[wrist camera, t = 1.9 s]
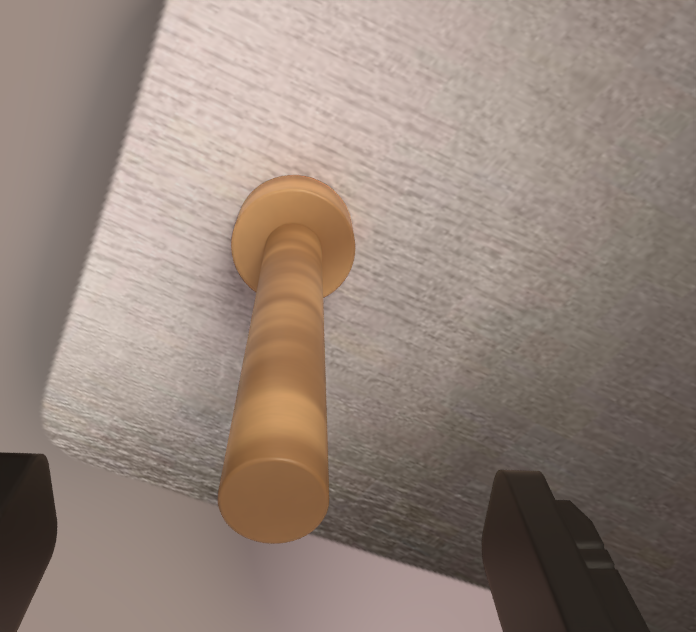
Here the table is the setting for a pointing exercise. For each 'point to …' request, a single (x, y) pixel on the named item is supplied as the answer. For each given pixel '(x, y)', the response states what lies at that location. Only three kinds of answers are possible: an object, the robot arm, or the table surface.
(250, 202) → the pestle
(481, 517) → the table surface
